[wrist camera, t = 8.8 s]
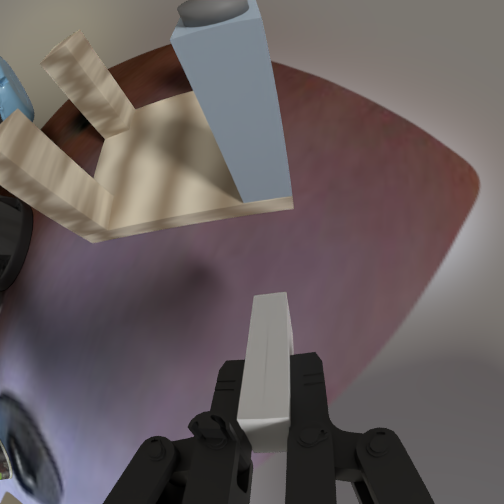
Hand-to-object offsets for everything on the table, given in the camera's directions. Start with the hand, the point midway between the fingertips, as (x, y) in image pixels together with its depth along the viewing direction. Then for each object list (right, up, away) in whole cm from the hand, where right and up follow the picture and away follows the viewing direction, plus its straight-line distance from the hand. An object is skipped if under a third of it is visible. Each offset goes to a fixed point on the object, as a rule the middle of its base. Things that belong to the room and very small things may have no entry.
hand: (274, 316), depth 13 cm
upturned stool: (-9, +14, +16) cm, 23 cm away
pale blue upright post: (0, +9, +10) cm, 14 cm away
